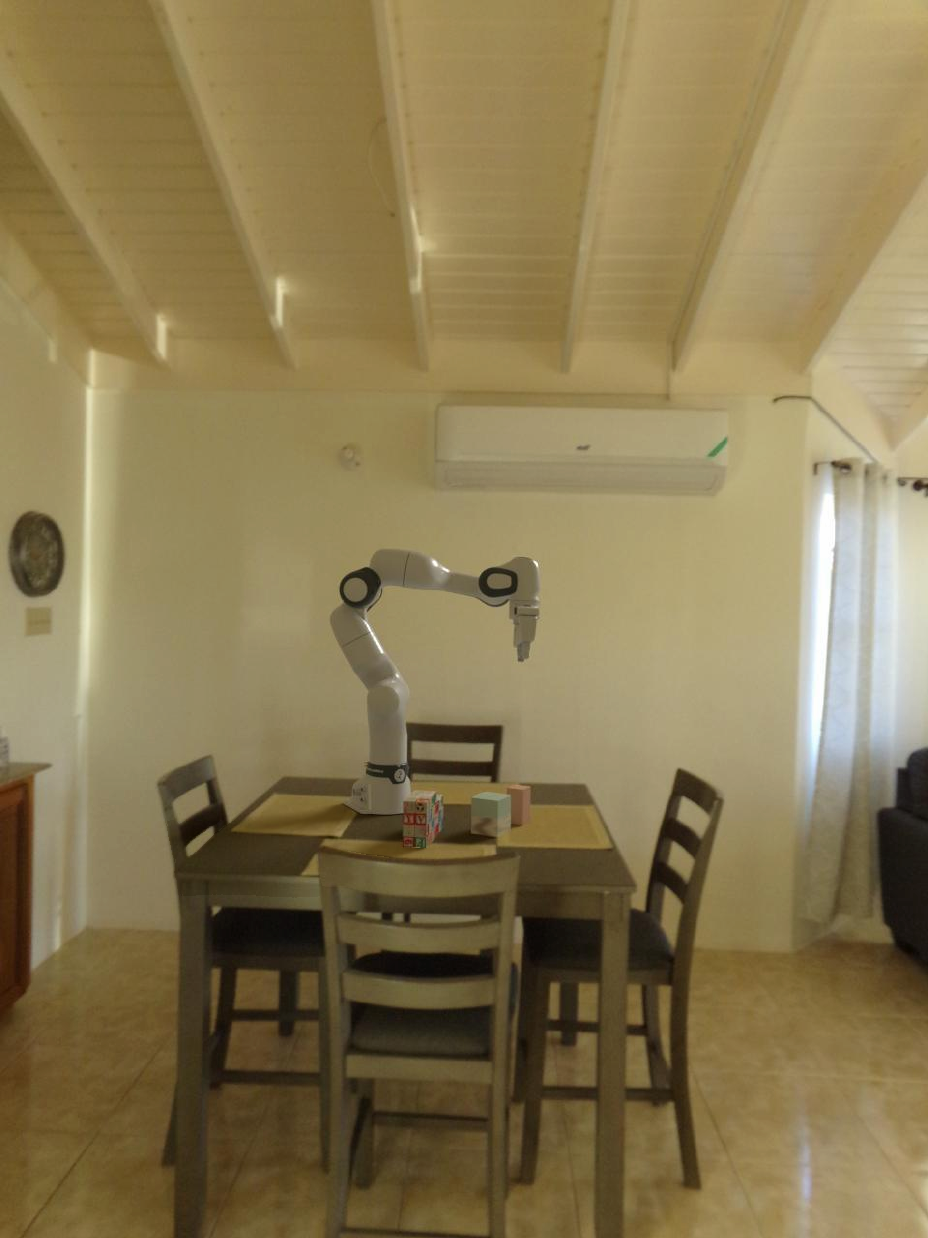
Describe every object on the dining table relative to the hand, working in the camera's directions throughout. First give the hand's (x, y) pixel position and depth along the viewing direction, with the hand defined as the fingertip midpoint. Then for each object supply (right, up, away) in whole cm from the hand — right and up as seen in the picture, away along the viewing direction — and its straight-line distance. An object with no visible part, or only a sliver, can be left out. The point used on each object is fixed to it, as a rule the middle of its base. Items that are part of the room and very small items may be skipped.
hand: (523, 660), depth 270 cm
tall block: (-2, -46, -4) cm, 46 cm away
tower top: (-10, -41, -15) cm, 45 cm away
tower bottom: (-10, -46, -15) cm, 49 cm away
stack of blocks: (-28, -46, -21) cm, 58 cm away
